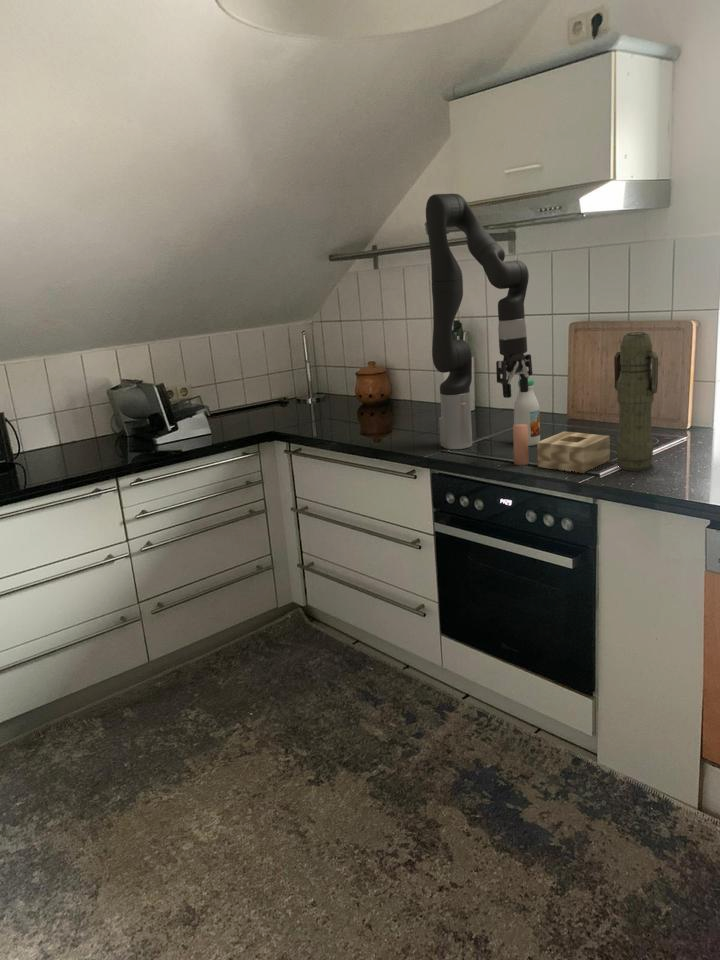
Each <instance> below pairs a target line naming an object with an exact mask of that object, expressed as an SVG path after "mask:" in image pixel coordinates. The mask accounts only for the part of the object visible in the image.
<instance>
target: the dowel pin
mask: <svg viewBox="0 0 720 960" xmlns="http://www.w3.org/2000/svg"><path fill="white" fill-rule="evenodd" d="M512 436H513V437H512V438H513V441H512V442H513V464H514V466H515V465H516V466H526V465H528V464H529V446H528V425H527V424H515V425H514V424H513V425H512Z"/></svg>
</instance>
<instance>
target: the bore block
mask: <svg viewBox="0 0 720 960" xmlns="http://www.w3.org/2000/svg"><path fill="white" fill-rule="evenodd" d="M610 439H611V436H610V435H605V434H604V435H603V434H593V433H586V432H576V431H575V432H573V431H561V432H560V433H557V434H554V435H552V436H550V437H549V436H548V437H547V438H545V439H542V440H540V441H539V442H537V445H536V446H537V447H536V450H537V467H538V468H544V469H552V470H557V469H558V471H564V470H565V471H564V472H571V471H573V472H572V473H578V472H579V473H580V474H585V472H586V471H588V470H590V469H592V470H594V469H596V468H598V467H599V465H600V466H602V465H604V464H606V463H608V462H610V461H609V460H611V449H610V448H611V447H610V446H611V445H610V443H611V441H610ZM607 461H608V462H607ZM605 462H606V463H605ZM603 463H604V464H603ZM601 464H602V465H601ZM597 466H598V467H597ZM595 467H596V468H595ZM593 468H594V469H593ZM574 471H575V472H574ZM590 471H591V470H590ZM588 472H589V471H588ZM586 473H587V472H586Z"/></svg>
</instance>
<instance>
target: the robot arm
mask: <svg viewBox="0 0 720 960" xmlns="http://www.w3.org/2000/svg"><path fill="white" fill-rule="evenodd" d="M425 222H426V230H427V236H428V243H429V251H430V253H429V254H430V266H431V267H430V268H431V273H430V274H431V293H432V294H431V295H432V296H431V297H432V314H433V315H432V317H433V318H432V319H433V322H432V323H433V326H432V327H433V328H432V343H431V345H432V346H431V353H432V354H431V356H432V358H431V359H432V363H433V365H434V368H435V369H436V370H437V371H438V372H439V373H442V374H443V373H448V374H449V375H448V377H446V379H445V380H444V381H442V382H441V383H440V385H439V397H440V399H439V400H440V412H441V413H440V414H441V416H439V418H438V423H439V438H440V439H439V441H440V447H443V448H444V449H447V450H463V449H468V448H471V447H472V446H473V433H472V432H473V431H472V430H473V429H472V428H473V427H472V408H471V384H472V379H473V378H472V377H473V375H472V374H473V372H472V370H473V361H472V360H473V359H472V358H473V357H472V356H473V355H472V351H471V350H472V349H471V347H470V345H469V343H468V342H467V341H465V340H464V339H461V338H460V339H459V338H458V339H453V325H454V321H455V318H456V315H458V311H459V309H460V306H461V304H462V301H463V296H464V281H463V280H464V279H463V272H462V269H461V266H460V265H459V263H458V261H457V259H456V257H455V255H454V254H453V253H452V250H451V249H450V246H449V242H448V235H447V228H453V227H454V228H455V227H456V228H458V229H459V230H461V231H462V232H463V233H464V234H465V236H466V245H467V249H468V251H469V253H470V254H471V255H472V257H473V258H474V259H475V260H476V261H477V262H478V263H479V264H480V265H481V266H482V268H483V271H484V273H485V275H486V277H487V279H488V281H489V283H490V284H491V286H493V287H495V289H499V290H505V289H508V291H507V295H506V296H505V297H503V298H501V299H499V301H498V302H497V318H498V329H497V330H498V334H497V335H498V347H499V354H500V355H501V356H503V359H502V360H497V361H496V362H495V366H496V367H495V370H496V383H497V384H501V385H502V396H503V398H505V399H506V398H507V399H508V398H511V397H512V384H511V382H512V379H513V377H515V374H517V375H518V377H519V380H520V391H521V392H528V379H530V376H533V363H532V362H533V361H532V355H531V354H527V352H528V337H527V334H528V333H527V324H526V317H525V306H524V305H525V299H526V295H527V290H528V284H529V278H530V277H529V276H530V274H529V269H528V267H527V265H526V264H525V262H524V261H523V260H518V259H515V260H510V261H509V260H507V261H504V260H505V257H506V254H505V251H504V249H503V248H502V246H501V245H500V244H499V243H498V242H497V241H496V240H495V239H494V238H493V237H492V236H491V235H490V234H489V232H488V231H486V229H485V228H484V227H483V225H482V223H481V222H480V221H479V219H478V218H477V215H476V214H475V213H474V210H473V209H472V207H470V205H469V203H468V202H467V201H466V199H465V198H464V197H463V196H462V195H460V194H459V193H435V194H431V195H430V196H429V197H428V199H427V202H426V206H425ZM501 375H502V376H501Z"/></svg>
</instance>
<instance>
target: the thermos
mask: <svg viewBox="0 0 720 960" xmlns="http://www.w3.org/2000/svg"><path fill="white" fill-rule="evenodd" d="M613 358H614V359H613V363H614V366H613V367H614V385H613V386H614V388H613V389H615V390H616V392H617V396H616V398H617V403H618V414H619V416H618V438H617V440H616V441H617V442H616V458H617V465H618V466H619V467H620V468H621V469H620V468H619V469H620V470H623V471H633V472H634V471H636V472H637V471H645V470H649V469H652V467H653V463H652V461H653V456H654V451H653V450H654V441H653V438H652V404H653V402H654V396H655V394H657V391H658V386H659V385H658V380H659V378H658V377H659V375H658V374H659V356H658V355H657V353H656V352H654V351H653V343H652V339H651V337H650V334H649V333H646V332H644V331H643V332H642V331H640V332H639V331H637V332H628V333H626V334H625V335H623V337H622V339H621V342H620V347H619V351H618V352H616V353H615V356H614V357H613ZM618 466H617V467H618Z"/></svg>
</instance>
